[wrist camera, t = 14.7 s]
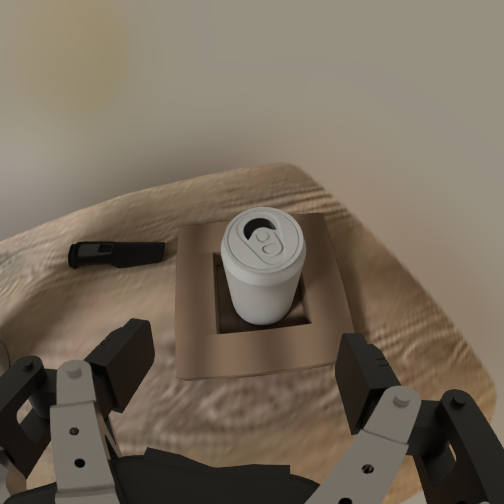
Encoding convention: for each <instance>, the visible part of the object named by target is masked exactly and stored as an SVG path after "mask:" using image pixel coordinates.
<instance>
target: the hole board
mask: <svg viewBox="0 0 504 504" xmlns="http://www.w3.org/2000/svg"><path fill="white" fill-rule="evenodd" d="M290 216H291V217H293V218H294V219H295V220H296V221H297V223H298V224H299V226H300V228H301V230H302V233H303V237H304V240H305V244H306V256H305V260H304V264H303V267H302V271H301V274H300V278H299V281H298V284H299V289H300V295H301V300H302V305H303V311H304V316H305V322H306V324H305V325H298V326H291V327H284V328H276V329H267V330H259V331H249V332H239V333H228V334H220V320H219V303H218V285H217V266H219V265H223V261H222V256H221V243H222V239H223V237H224V234H225V231H226V228H227V226H228V224H229V223H230V222H231V221H224V222H215V223H206V224H197V225H189V226H180V227H178V242H177V262H176V298H175V336H176V371H177V378H179V379H182V380H185V381H191V380H215V379H231V378H243V377H253V376H263V375H271V374H279V373H286V372H293V371H299V370H306V369H312V368H317V367H323V366H328V365H333V364H336V360H337V355H338V351H339V346H340V341H341V337H342V335H343V333H355V332H354V327H353V323H352V318H351V314H350V310H349V306H348V302H347V298H346V294H345V290H344V286H343V282H342V279H341V275H340V271H339V268H338V264H337V260H336V257H335V253H334V250H333V247H332V243H331V240H330V237H329V233H328V230H327V227H326V224H325V221H324V217H323V214H322V213H309V214H297V215H290Z"/></svg>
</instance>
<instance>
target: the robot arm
mask: <svg viewBox="0 0 504 504" xmlns="http://www.w3.org/2000/svg"><path fill="white" fill-rule="evenodd" d="M154 357H155V350H154V344H153V338H152V331H151V325H150V322H149V321H147V320H141V319H134V318H132V319H130V320H129V321H128V322H127V323H126V324H125V325H124V326H123V327H120V328H118V329H116V330H114V331H112V332H111V333H110V334H109V335H108V336H107V337H106V338H105V340H103V341H102V342H101V343H100V345H98V346H97V347H96V348H95V349H94V350H93V351H92V352H91V353H90V354H89V355H88V356H87V357H86V358H85V359H84V360H71V361H67V362H65V363H63V364H62V365H61V366H60V367H59V368H58V370H55V369H45V368H44V366H43V363H42V361H41V359H40V358H39V357H37V356H25V357H23V358H21V359H19V360H18V361H16V362H15V363H14V364H13V365H12V366H11V367H10V368H9V359H8V354H7V351H6V349H5V347H4V345H3V344H2V343H1V342H0V504H381V503H382V501H383V499H384V497H385V495H386V494H387V492H388V490H389V488H390V486H391V484H392V482H393V480H394V478H395V476H396V474H397V472H398V470H399V468H400V466H401V463H402V461H403V459H404V457H405V455H412V456H413V459H414V462H415V465H416V468H417V471H418V474H419V478H420V481H421V484H422V488H423V491H424V495H425V498H426V502H427V504H504V449H503V447H502V445H501V443H500V441H499V440H498V438H497V436H496V435H495V433H494V431H493V430H492V428H491V426H490V425H489V423H488V421H487V420H486V418H485V417H484V415H483V413H482V412H481V410H480V409H479V407H478V406H477V404H476V403H475V401H474V400H473V398H472V397H471V396H470V395H469V394H468V393H466V392H464V391H462V390H457V389H453V390H448V391H446V392H445V393H444V394H443V396H442V398H441V400H440V401H429V400H421V398H420V396H419V394H418V393H417V392H416V391H414V390H413V389H411V388H409V387H405V386H401V384H400V382H399V381H398V379H397V377H396V375H395V374H394V372H393V370H392V368H391V367H390V366H389V363H388V362H387V360H385V357H384V355H383V353H382V351H381V350H380V349H378V348H377V347H376V346H374V345H373V344H367V342H366V340H365V338H364V337H363V335H362V333H343V335H342V337H341V341H340V346H339V351H338V355H337V360H336V365H335V377H336V381H337V385H338V388H339V391H340V395H341V398H342V402H343V405H344V409H345V413H346V416H347V420H348V424H349V427H350V431H351V435H355V434H358V435H357V436H356V438H355V439H354V441H353V442H352V444H351V445H350V447H349V448H348V449H347V451H346V452H345V454H344V455H343V457H342V458H341V459H340V461H339V462H338V463H337V465H336V466H335V467H334V469H333V470H332V471H331V473H330V474H329V475H328V476H327V478H326V479H325V480H324V481H323V483H322V484H321V485H320V484H318V483H316V482H314V481H312V480H310V479H307V478H304V477H301V476H297V475H293V474H290V465H260V464H251V465H243V466H233V467H221V468H214V467H210V466H207V465H205V464H202V463H199V462H197V461H194V460H192V459H189V458H187V457H184V456H182V455H179V454H174V453H170V452H165V451H161V450H157V449H153V448H149V447H147V449H146V451H145V454H144V455H132V456H124V457H123V456H122V454H121V451H120V449H119V445H118V442H117V439H116V436H115V433H114V429H113V426H112V422H111V419H110V416H109V413H110V412H111V410H113V411H116V412H119V413H123V411H124V410H125V408H126V406H127V405H128V403H129V402H130V400H131V398H132V397H133V395H134V393H135V392H136V390H137V389H138V387H139V385H140V384H141V382H142V380H143V379H144V377H145V376H146V374H147V372H148V371H149V369H150V368H151V366H152V364H153V362H154ZM27 399H28V400H29V402H30V403H31V405H32V407H33V408H32V410H31V411H30V412H29V413H28V415H27V416H26V417H25V418H24V420H23V421H22V422H21V423H20V425H19V423H18V421H17V412H18V410H19V409H20V407H21V406H22V405H23V404H24V403H25V401H26V400H27ZM50 441H51V442H52V453H53V462H54V469H55V476H56V482H54V483H51V484H48V485H45V486H41V487H38V488H34V489H31V490H27V489H26V480H27V478H28V476H29V475H30V473H31V471H32V470H33V468H34V466H35V465H36V463H37V461H38V460H39V458H40V457H41V455H42V453H43V452H44V450H45V449H46V447H47V446H48V444H49V443H50ZM450 444H451V446H452V448H453V450H454V452H455V455H456V461H455V459H454V456H453V454H452V452H451V450H450V447H449V445H450Z"/></svg>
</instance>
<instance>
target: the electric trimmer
mask: <svg viewBox="0 0 504 504" xmlns="http://www.w3.org/2000/svg"><path fill="white" fill-rule="evenodd" d="M164 247H165V243H164V242H77V243H76V244H72V245H71V247H70V250H69V254H68V262H69V266H70V267H73V269H76V267H77V266H78V265H79V264H111V265H113V266H115V267H117V268H125V267H132V266H139V265H146V264H152V263H159V262H161V261H162V259H163V252H164Z"/></svg>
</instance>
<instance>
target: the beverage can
mask: <svg viewBox="0 0 504 504" xmlns="http://www.w3.org/2000/svg"><path fill="white" fill-rule="evenodd" d="M221 256H222V261H223V265H224V269H225V273H226V277H227V281H228V286H229V290H230V294H231V298H232V302H233V305H234V308H235V310H236V312H237V313H238V314H239V315H240V317H242V318H243V319H244V320H246V321H247V322H249V323H252V324H255V325H270V324H273V323H276V322H278V321H279V320H281V319H282V318H283V317H284V316H285V315H286V314H287V313H288V311H289V309H290V307H291V305H292V301H293V298H294V295H295V291H296V288H297V285H298V281H299V278H300V274H301V271H302V267H303V264H304V260H305V256H306V244H305V240H304V237H303V233H302V230H301V228H300V226H299V224H298V223H297V221H296V220H295V219H294V218H293V217H291V216H290V215H289V214H287V213H286V212H284V211H281V210H279V209H276V208H270V207H256V208H251V209H248V210H246V211H243V212H241V213H240V214H238V215H237V216H236V217H234V218H233V219H232V220H231V222H230V223H229V224H228V226H227V228H226V231H225V234H224V237H223V239H222V243H221Z"/></svg>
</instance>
